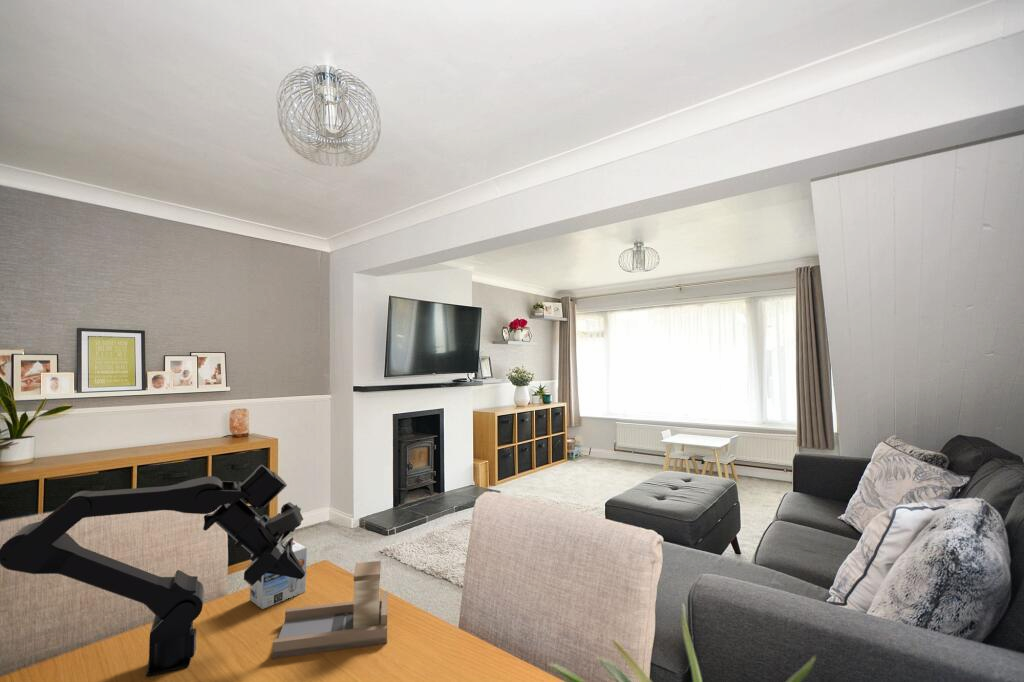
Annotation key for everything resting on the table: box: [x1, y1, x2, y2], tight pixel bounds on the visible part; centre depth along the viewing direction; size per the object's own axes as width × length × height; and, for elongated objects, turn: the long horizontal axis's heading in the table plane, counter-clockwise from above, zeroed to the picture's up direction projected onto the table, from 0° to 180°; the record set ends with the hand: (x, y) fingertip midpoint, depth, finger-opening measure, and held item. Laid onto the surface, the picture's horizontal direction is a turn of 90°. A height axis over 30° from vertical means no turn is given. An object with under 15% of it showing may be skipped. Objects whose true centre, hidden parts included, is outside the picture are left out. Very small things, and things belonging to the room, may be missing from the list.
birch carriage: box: [353, 560, 382, 629], centre depth 100 cm, size 5×6×11 cm
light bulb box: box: [249, 540, 308, 610], centre depth 113 cm, size 11×7×11 cm, turn 143°
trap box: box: [272, 590, 389, 659], centre depth 98 cm, size 21×12×5 cm, turn 104°
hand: (303, 576), depth 97 cm, fingers closed
